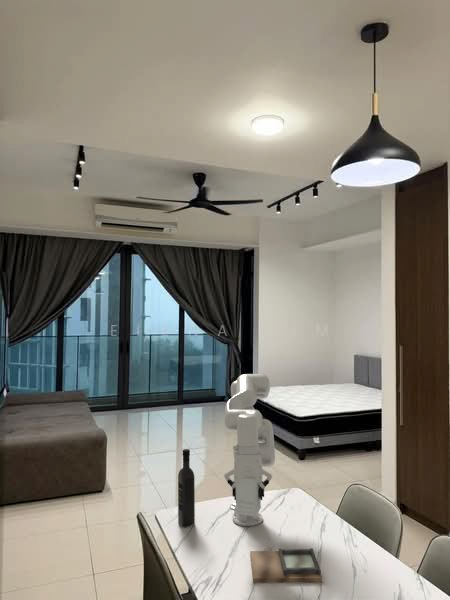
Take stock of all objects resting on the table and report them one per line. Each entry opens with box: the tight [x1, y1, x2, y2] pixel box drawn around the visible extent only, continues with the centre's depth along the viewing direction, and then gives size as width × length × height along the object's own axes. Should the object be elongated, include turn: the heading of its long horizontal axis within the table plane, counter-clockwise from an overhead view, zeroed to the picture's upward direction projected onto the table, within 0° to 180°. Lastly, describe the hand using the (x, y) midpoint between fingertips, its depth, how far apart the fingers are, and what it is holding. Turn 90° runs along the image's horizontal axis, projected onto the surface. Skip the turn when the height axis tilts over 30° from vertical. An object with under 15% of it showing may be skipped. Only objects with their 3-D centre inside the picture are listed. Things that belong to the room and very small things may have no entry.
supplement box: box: [235, 478, 262, 516], centre depth 151 cm, size 7×7×13 cm
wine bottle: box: [177, 448, 196, 528], centre depth 175 cm, size 6×6×30 cm
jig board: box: [249, 547, 323, 584], centre depth 143 cm, size 22×16×3 cm
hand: (248, 498), depth 151 cm, fingers closed on supplement box, 8 cm apart
